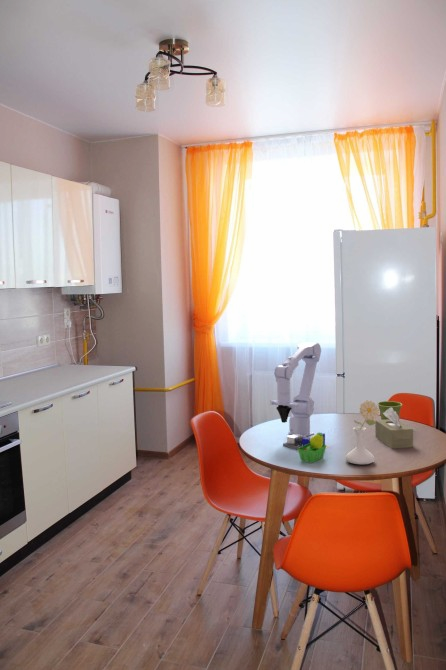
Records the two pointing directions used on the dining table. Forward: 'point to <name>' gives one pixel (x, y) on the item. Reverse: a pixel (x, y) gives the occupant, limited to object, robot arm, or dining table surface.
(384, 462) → the dining table surface
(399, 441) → the tissue box
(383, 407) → the plant pot
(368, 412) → the flower in vase
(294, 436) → the block
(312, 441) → the fruit basket
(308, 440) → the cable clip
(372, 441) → the dining table surface
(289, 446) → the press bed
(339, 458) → the dining table surface
